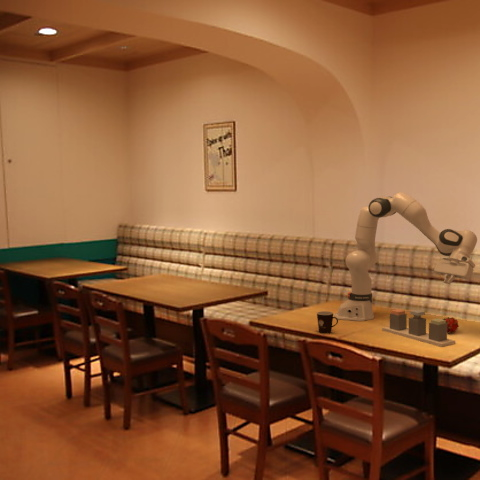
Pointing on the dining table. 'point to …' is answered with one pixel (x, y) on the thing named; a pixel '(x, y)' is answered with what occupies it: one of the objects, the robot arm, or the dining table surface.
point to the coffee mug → (325, 321)
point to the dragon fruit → (451, 324)
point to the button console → (419, 330)
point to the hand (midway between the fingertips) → (446, 283)
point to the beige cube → (417, 313)
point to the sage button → (438, 321)
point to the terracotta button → (397, 312)
